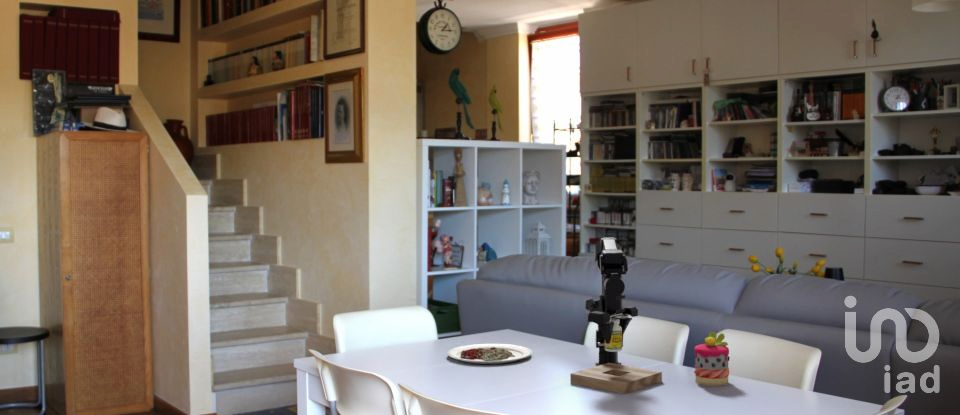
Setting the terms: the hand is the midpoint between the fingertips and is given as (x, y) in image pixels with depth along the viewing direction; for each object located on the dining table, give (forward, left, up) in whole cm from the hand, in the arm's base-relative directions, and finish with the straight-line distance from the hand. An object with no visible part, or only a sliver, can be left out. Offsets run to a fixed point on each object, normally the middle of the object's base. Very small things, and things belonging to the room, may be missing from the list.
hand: (613, 342), depth 269 cm
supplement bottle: (0, 0, -3) cm, 3 cm away
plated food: (-2, -55, -13) cm, 57 cm away
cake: (-19, +23, -13) cm, 32 cm away
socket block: (0, +1, -12) cm, 13 cm away
